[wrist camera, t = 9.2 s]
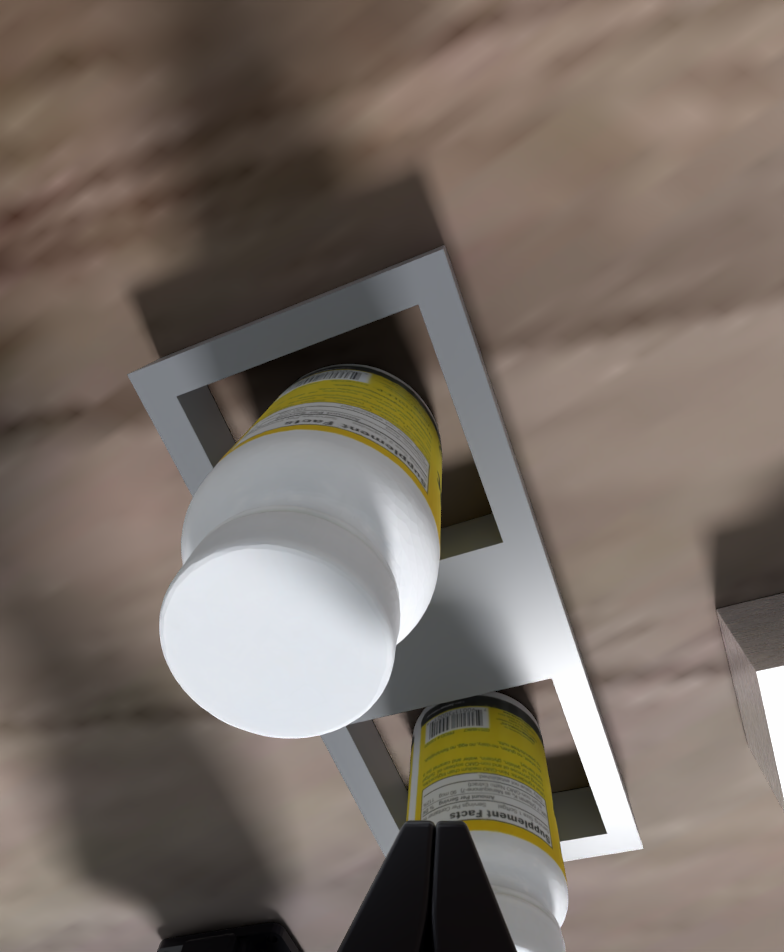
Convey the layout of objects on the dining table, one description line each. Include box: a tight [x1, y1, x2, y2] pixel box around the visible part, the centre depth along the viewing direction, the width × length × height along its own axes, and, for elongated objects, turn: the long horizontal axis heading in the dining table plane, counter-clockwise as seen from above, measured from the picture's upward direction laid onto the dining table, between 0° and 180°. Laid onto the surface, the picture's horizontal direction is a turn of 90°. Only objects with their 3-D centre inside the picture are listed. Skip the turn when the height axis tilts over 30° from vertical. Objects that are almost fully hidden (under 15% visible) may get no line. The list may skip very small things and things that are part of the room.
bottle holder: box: [127, 245, 643, 862], centre depth 20 cm, size 21×9×2 cm, turn 21°
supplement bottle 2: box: [406, 691, 568, 952], centre depth 19 cm, size 5×5×8 cm
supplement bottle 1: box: [159, 364, 442, 738], centre depth 15 cm, size 5×5×10 cm
